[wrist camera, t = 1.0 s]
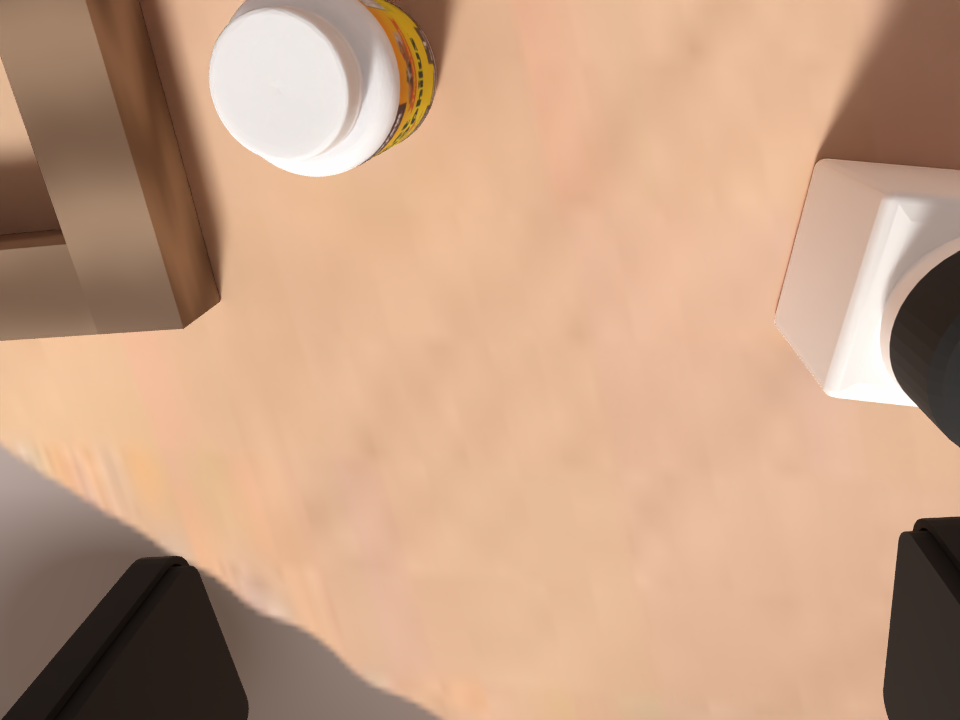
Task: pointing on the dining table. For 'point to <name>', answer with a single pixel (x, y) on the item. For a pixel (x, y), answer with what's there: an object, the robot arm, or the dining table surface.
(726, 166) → the dining table surface
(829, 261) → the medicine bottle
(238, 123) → the supplement bottle
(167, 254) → the square bottle holder
